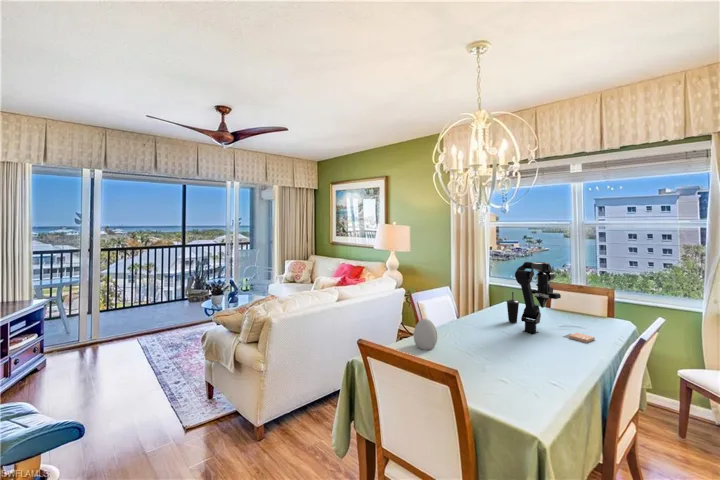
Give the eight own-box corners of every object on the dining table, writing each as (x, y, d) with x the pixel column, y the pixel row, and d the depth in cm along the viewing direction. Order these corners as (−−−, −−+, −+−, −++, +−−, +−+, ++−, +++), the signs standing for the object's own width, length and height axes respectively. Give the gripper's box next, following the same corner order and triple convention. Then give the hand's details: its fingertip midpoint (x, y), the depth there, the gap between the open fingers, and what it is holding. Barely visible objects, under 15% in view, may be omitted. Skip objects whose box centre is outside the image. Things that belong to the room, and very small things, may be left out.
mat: (587, 344, 174) (587, 343, 174) (562, 337, 186) (562, 336, 186) (596, 340, 179) (596, 340, 179) (570, 334, 190) (570, 333, 190)
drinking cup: (512, 324, 210) (512, 293, 210) (503, 321, 218) (503, 291, 217) (522, 323, 212) (522, 292, 212) (513, 320, 220) (513, 290, 219)
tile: (569, 338, 183) (587, 342, 175) (569, 335, 183) (587, 339, 175) (576, 335, 187) (594, 340, 179) (576, 332, 187) (594, 337, 179)
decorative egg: (442, 347, 173) (441, 318, 173) (427, 353, 165) (427, 323, 165) (423, 341, 183) (423, 314, 182) (408, 347, 174) (408, 318, 174)
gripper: (565, 283, 200) (565, 308, 200) (535, 279, 216) (535, 303, 216) (555, 285, 194) (555, 311, 194) (525, 281, 210) (525, 305, 210)
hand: (542, 307), depth 204 cm, fingers closed
